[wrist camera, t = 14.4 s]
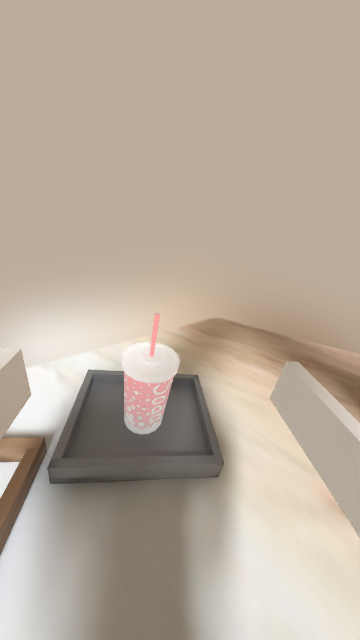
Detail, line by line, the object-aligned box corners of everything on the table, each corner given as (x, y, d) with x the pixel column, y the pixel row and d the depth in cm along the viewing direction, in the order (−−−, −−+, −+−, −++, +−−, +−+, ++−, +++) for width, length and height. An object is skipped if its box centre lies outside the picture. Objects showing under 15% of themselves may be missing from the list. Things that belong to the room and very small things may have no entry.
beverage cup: (122, 447, 22) (131, 331, 16) (114, 403, 27) (119, 301, 21) (175, 432, 24) (200, 327, 19) (159, 394, 29) (174, 302, 24)
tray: (194, 386, 33) (197, 375, 32) (218, 476, 22) (223, 463, 21) (88, 382, 30) (88, 369, 29) (49, 483, 19) (47, 468, 18)
